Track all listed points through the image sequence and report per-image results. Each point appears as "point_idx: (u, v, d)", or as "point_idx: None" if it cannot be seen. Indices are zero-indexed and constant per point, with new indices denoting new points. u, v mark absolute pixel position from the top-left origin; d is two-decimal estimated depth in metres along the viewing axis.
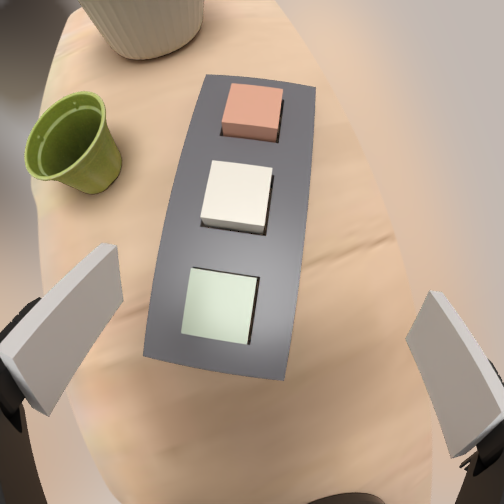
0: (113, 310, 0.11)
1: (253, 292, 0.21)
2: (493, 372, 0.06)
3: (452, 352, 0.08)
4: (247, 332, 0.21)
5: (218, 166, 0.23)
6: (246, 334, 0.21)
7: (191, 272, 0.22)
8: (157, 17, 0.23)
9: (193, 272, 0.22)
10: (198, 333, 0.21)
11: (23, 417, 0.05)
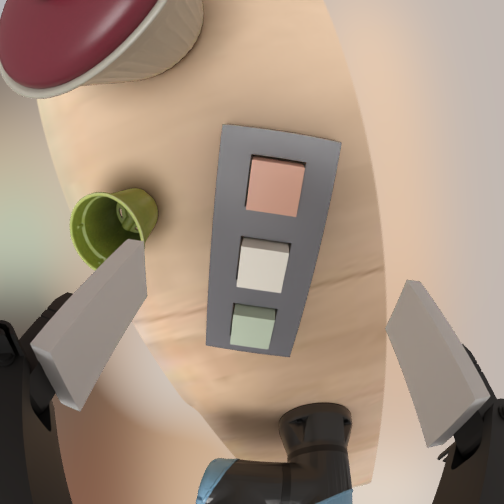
0: (139, 305, 0.11)
1: (272, 327, 0.35)
2: (468, 359, 0.07)
3: (427, 339, 0.09)
4: (268, 344, 0.36)
5: (246, 251, 0.30)
6: (268, 345, 0.36)
7: (233, 316, 0.34)
8: (146, 67, 0.20)
9: (235, 316, 0.34)
10: (240, 344, 0.36)
11: (53, 415, 0.06)
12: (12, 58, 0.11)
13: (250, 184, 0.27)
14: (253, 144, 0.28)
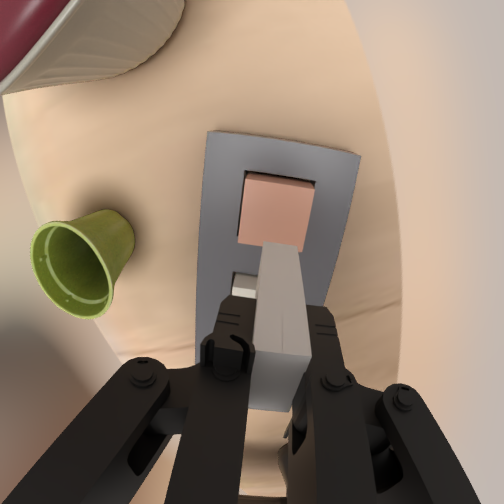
0: None
1: None
2: (303, 316, 0.08)
3: None
4: None
5: (239, 292, 0.24)
6: None
7: None
8: (105, 60, 0.14)
9: None
10: None
11: None
12: None
13: (243, 211, 0.21)
14: (247, 157, 0.21)
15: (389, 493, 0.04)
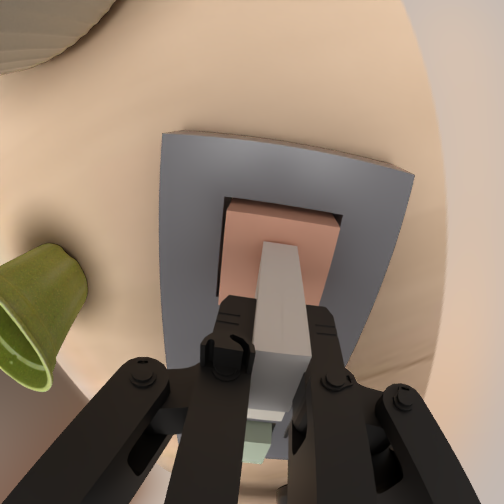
0: None
1: (267, 448, 0.20)
2: (303, 316, 0.08)
3: None
4: (262, 460, 0.21)
5: None
6: (261, 461, 0.21)
7: None
8: None
9: None
10: None
11: None
12: None
13: (224, 260, 0.13)
14: (229, 175, 0.13)
15: (389, 493, 0.04)
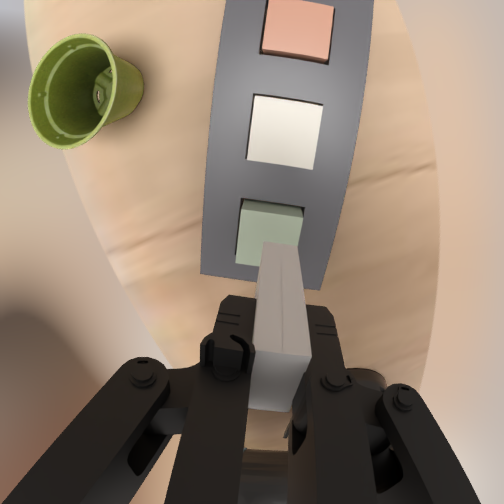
0: None
1: (299, 230, 0.24)
2: (303, 316, 0.08)
3: None
4: None
5: (262, 102, 0.19)
6: None
7: (241, 213, 0.23)
8: None
9: (243, 213, 0.23)
10: (250, 263, 0.25)
11: None
12: None
13: (267, 20, 0.17)
14: None
15: (389, 493, 0.04)
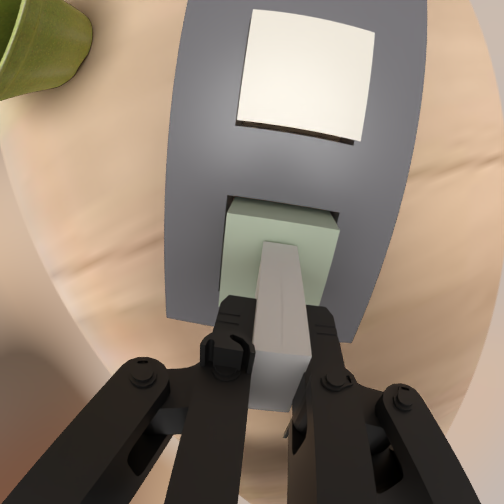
0: None
1: (332, 252, 0.13)
2: (303, 316, 0.08)
3: None
4: (317, 305, 0.14)
5: (267, 20, 0.09)
6: None
7: (228, 220, 0.13)
8: None
9: (231, 220, 0.13)
10: None
11: None
12: None
13: None
14: None
15: (389, 494, 0.04)
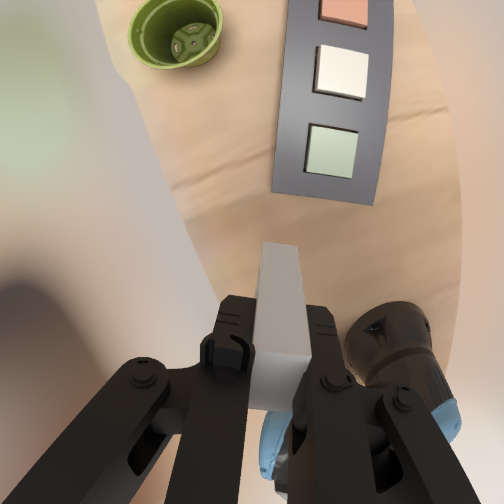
0: None
1: (356, 143, 0.28)
2: (303, 316, 0.08)
3: None
4: (352, 170, 0.29)
5: (326, 49, 0.23)
6: (351, 171, 0.29)
7: (312, 129, 0.28)
8: None
9: (314, 129, 0.28)
10: (319, 171, 0.30)
11: None
12: None
13: None
14: None
15: (389, 493, 0.04)
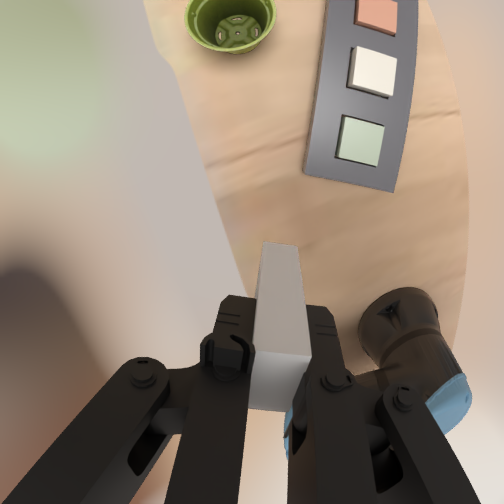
0: None
1: (382, 135, 0.30)
2: (303, 316, 0.08)
3: None
4: (377, 159, 0.31)
5: (362, 51, 0.25)
6: (377, 160, 0.31)
7: (346, 119, 0.30)
8: None
9: (347, 119, 0.30)
10: (349, 157, 0.32)
11: None
12: None
13: (360, 4, 0.23)
14: None
15: (389, 493, 0.04)
